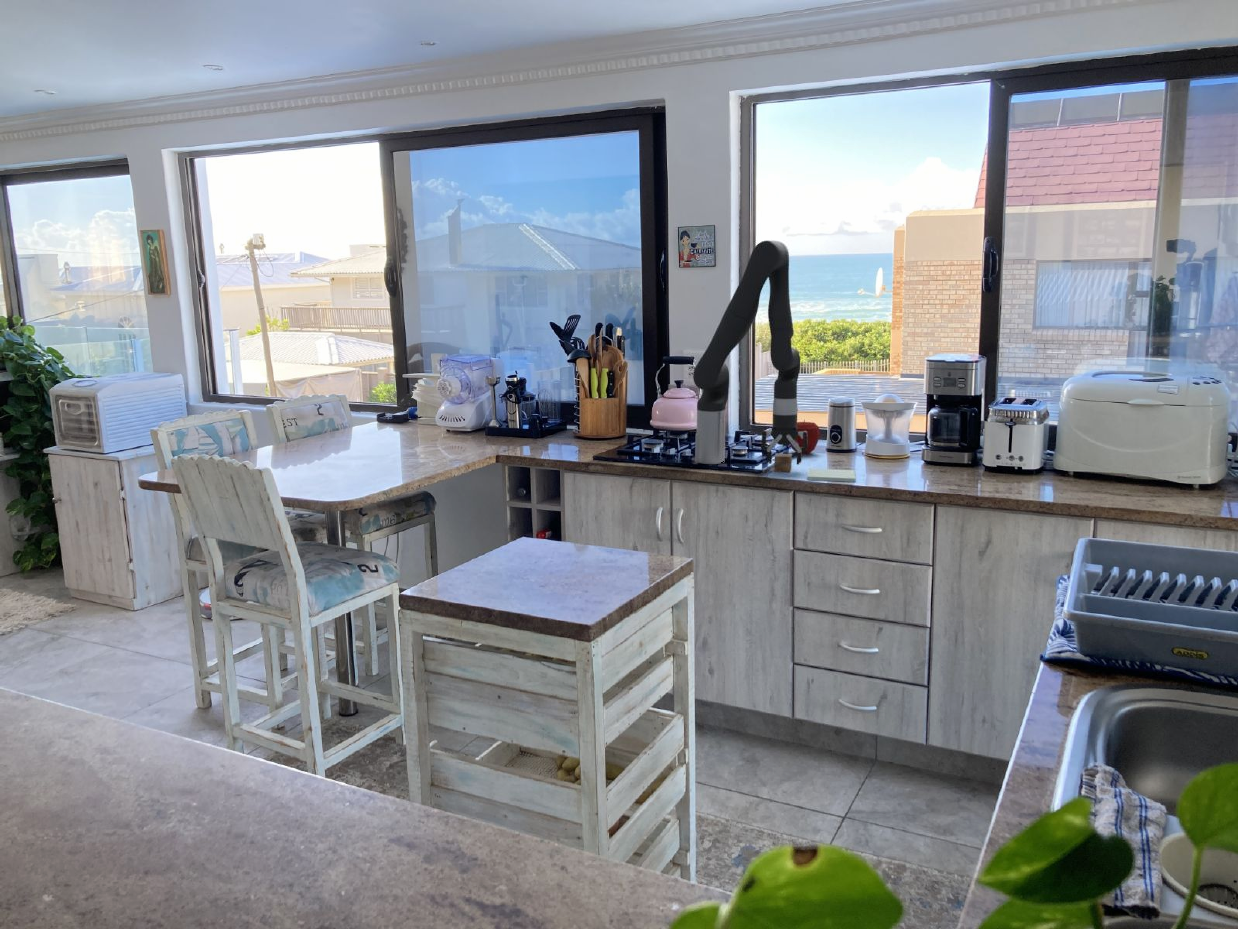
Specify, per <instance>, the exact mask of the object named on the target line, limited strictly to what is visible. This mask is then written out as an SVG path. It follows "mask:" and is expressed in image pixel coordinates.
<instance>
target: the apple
mask: <svg viewBox="0 0 1238 929" xmlns="http://www.w3.org/2000/svg"><path fill="white" fill-rule="evenodd" d="M797 430H798V432H804V431H807V439H808V450H807V451H803V452H802V455H809V454H811V453H812V452H813V451H815V449H816V448H817V445H818V442H819V439H820V435H821V430H820V427H819V425H817V423H815V422H813V421H812V422H811V421H810V422H809V421H806V420H805V419H804V420H803V421H797ZM795 440H796V441H797V443H798V444H799V446H800V447H804V446H803V439H802V438H801V437H800V435H798V436H797V438H796V439H795ZM789 446H790V448H791V450H792V451H794V453H795V454H797V452H798V451H797V450H796V449H795V447H794V446H793V445H792V444H790V445H789Z"/></svg>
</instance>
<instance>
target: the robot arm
mask: <svg viewBox="0 0 1238 929" xmlns="http://www.w3.org/2000/svg"><path fill="white" fill-rule="evenodd" d="M789 274H790V253H789V248H788V247H787V246H786V244H785V243H783V242H782V241H780V240H762V241H761V242H759V243H757V244H756V245H755V246H754V248H753V249H752V251H751V253H750V257H749V259H748V262H747V265H746V268H745V271H744V272H743V274H742V277H741V280H740V282H739V284H738V285H737V288H736V290H735V291H734V294H733V296H732V298H731V299H730V301H729V303H728V305H727V307H726V309H725V311H724V313H723V314H722V317H721V319H720V322H719V324H718V325H717V328H716V330H715V331H714V334H713V336H712V338H711V341H710V342H709V344H708V346H707V347H706V350H705V351H704V353H703V354H702V356H701V358H700V359H699V360H698V362H697V363H696V366H695V368H694V370H693V373H692V374H693V376H692V378H693V383H694V385H695V386H696V387H697V388H698V389H699V390H702V394H701V396H700V398H699V399H698V400H697V403H696V433H695V439H694V440H695V447H694V448H695V449H694V450H695V451H694V455H695V456H694V459H695V460H694V462H695V463H696V464H697V463H698V464H704V465H717V464H722V463H721V462H723V461H724V462H725V457H726V455H725V454H726V453H725V452H726V409H727V408H726V406H727V402H728V400H729V393H730V392H729V391H730V371H729V368H728V365H727V364H726V363H725V362H726V360H727V358H728V357H729V355H730V353H731V352H732V351H733V350H734V349H735V348H736V346H738V345H739V343H741V341H742V340H743V339H744V338H745V336H747V334H748V332H749V331H750V328H751V327H752V325H753V322H754V320H756V316H757V314H758V311H759V304H760V298H761V295H762V294H761V293H762V290H763V288H764V285H765V284H766V282H767V280H768V281H769V298H768V299H769V300H768V308H767V318H768V326H769V332H770V338H771V339H770V350H769V351H770V354H769V355H770V360H771V364H772V367H773V368H774V369H775V370H776V371H777V372H778V373H777V378H776V379H775V381H774V385H773V402H772V429H771V430H766V429H763V430H762V434H761V446H760V447H761V448H760V449H761V450H762V451H765V452H766V461H767V463H768V464H770V465H771V464H772V462H773V457H772V456H773V451H772V450H773V448H775V446H776V445H780V446H791V445H790V444H792V445H793V446H794V447H795V449H796V450H797V451H798V452H797V453H796V465H800V463H802V459H803V458H802V456H803V454H802V452H803V451H807V450H808V439H807V431H804V432H798V430H797V422H798V411H799V410H798V409H799V408H798V399H797V398H798V379H799V375H800V369H801V355H800V353H799V351H798V350H797V349H796V348H795V347H792V338H793V336H794V332H795V330H794V323H793V318H792V310H791V303H790V302H791V300H790V278H789V277H790V276H789ZM798 435H800V437H801V438H802V439H803V446H804V447H800V446H799V444H798V443H797V441H796V440H795V439H796V438H797V436H798ZM770 436H771V437H772V438H773V441H772V442H771V443H770V444H769V446H767V439H768V438H769V437H770ZM724 462H723V463H724Z"/></svg>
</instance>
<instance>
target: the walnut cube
mask: <svg viewBox="0 0 1238 929" xmlns="http://www.w3.org/2000/svg"><path fill="white" fill-rule="evenodd" d="M792 456H793V454H792V453H777V452H776V453H775V455H774V469H773V470H774V471H773V472H774V473H791V472H792V460H793V458H792Z"/></svg>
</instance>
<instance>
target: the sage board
mask: <svg viewBox="0 0 1238 929" xmlns="http://www.w3.org/2000/svg"><path fill="white" fill-rule="evenodd" d="M856 479H857V478H856V470H854V469H853V470H851V469H831V468H829V469H828V468H825V469H824V468H808V472H807V480H808V481H826V482H827V481H830V482H849V483H851V482H852V483H853V482H854V483H856Z"/></svg>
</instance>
